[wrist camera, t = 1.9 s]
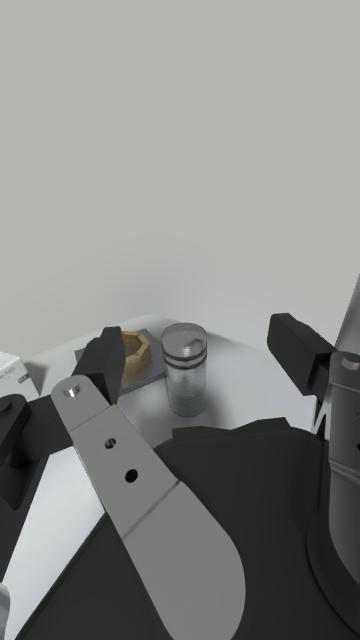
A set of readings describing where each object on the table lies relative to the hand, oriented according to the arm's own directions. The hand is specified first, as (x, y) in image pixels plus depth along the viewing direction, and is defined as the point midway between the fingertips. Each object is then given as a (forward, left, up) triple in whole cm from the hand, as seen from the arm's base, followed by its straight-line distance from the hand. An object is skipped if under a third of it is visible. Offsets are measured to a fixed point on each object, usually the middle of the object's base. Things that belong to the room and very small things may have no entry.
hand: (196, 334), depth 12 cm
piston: (-5, -10, -18) cm, 21 cm away
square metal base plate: (0, -23, -18) cm, 29 cm away
